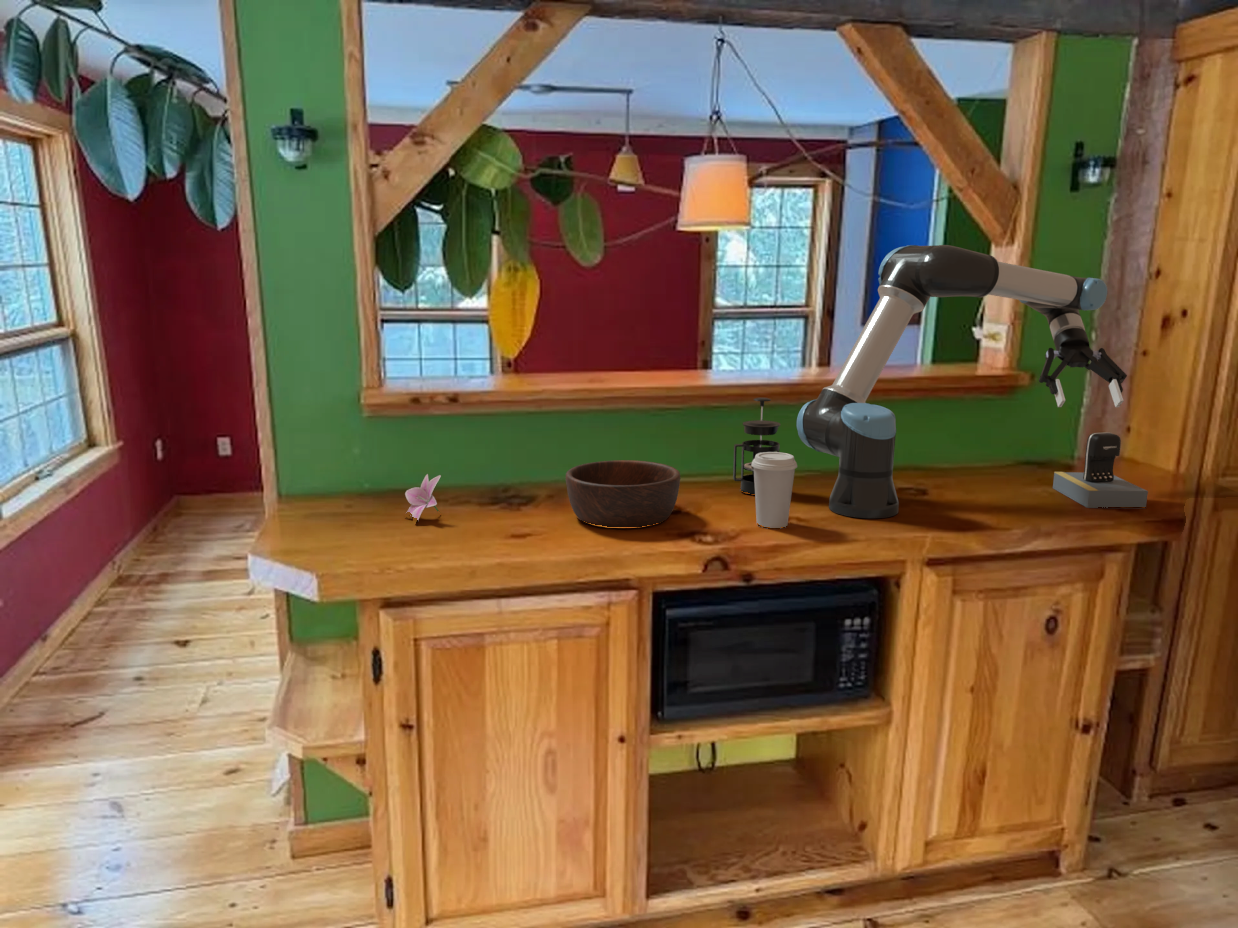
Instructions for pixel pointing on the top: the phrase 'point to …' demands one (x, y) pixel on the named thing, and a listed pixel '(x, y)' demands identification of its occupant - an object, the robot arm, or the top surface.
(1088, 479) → the battery charger
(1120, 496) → the dock
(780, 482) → the coffee cup
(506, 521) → the top surface
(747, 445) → the french press
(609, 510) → the wooden bowl
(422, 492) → the lily
